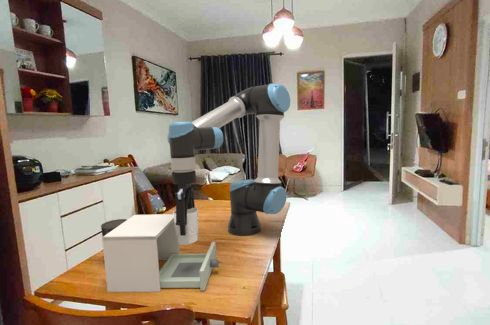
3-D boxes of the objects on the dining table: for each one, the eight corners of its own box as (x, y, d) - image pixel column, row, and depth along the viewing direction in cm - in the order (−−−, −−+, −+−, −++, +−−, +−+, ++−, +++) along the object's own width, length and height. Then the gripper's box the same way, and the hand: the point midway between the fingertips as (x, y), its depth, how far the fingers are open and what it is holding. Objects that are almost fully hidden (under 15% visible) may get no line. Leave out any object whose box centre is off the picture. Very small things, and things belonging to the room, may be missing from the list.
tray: (222, 257, 112) (222, 241, 111) (212, 290, 90) (211, 271, 89) (173, 257, 113) (171, 242, 112) (150, 290, 91) (149, 271, 90)
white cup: (202, 241, 98) (201, 211, 97) (178, 247, 95) (176, 215, 94) (195, 234, 105) (193, 206, 104) (172, 238, 102) (170, 209, 101)
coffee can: (100, 267, 109) (96, 228, 107) (110, 254, 119) (106, 219, 117) (129, 264, 110) (126, 226, 108) (137, 253, 120) (134, 218, 118)
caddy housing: (180, 258, 113) (177, 213, 111) (159, 291, 91) (155, 236, 89) (138, 259, 114) (134, 214, 112) (107, 291, 92) (102, 237, 90)
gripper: (180, 166, 108) (184, 229, 110) (161, 176, 87) (166, 252, 90) (201, 165, 107) (205, 228, 110) (187, 175, 87) (191, 252, 90)
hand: (187, 239), depth 100 cm, fingers closed on white cup, 8 cm apart
